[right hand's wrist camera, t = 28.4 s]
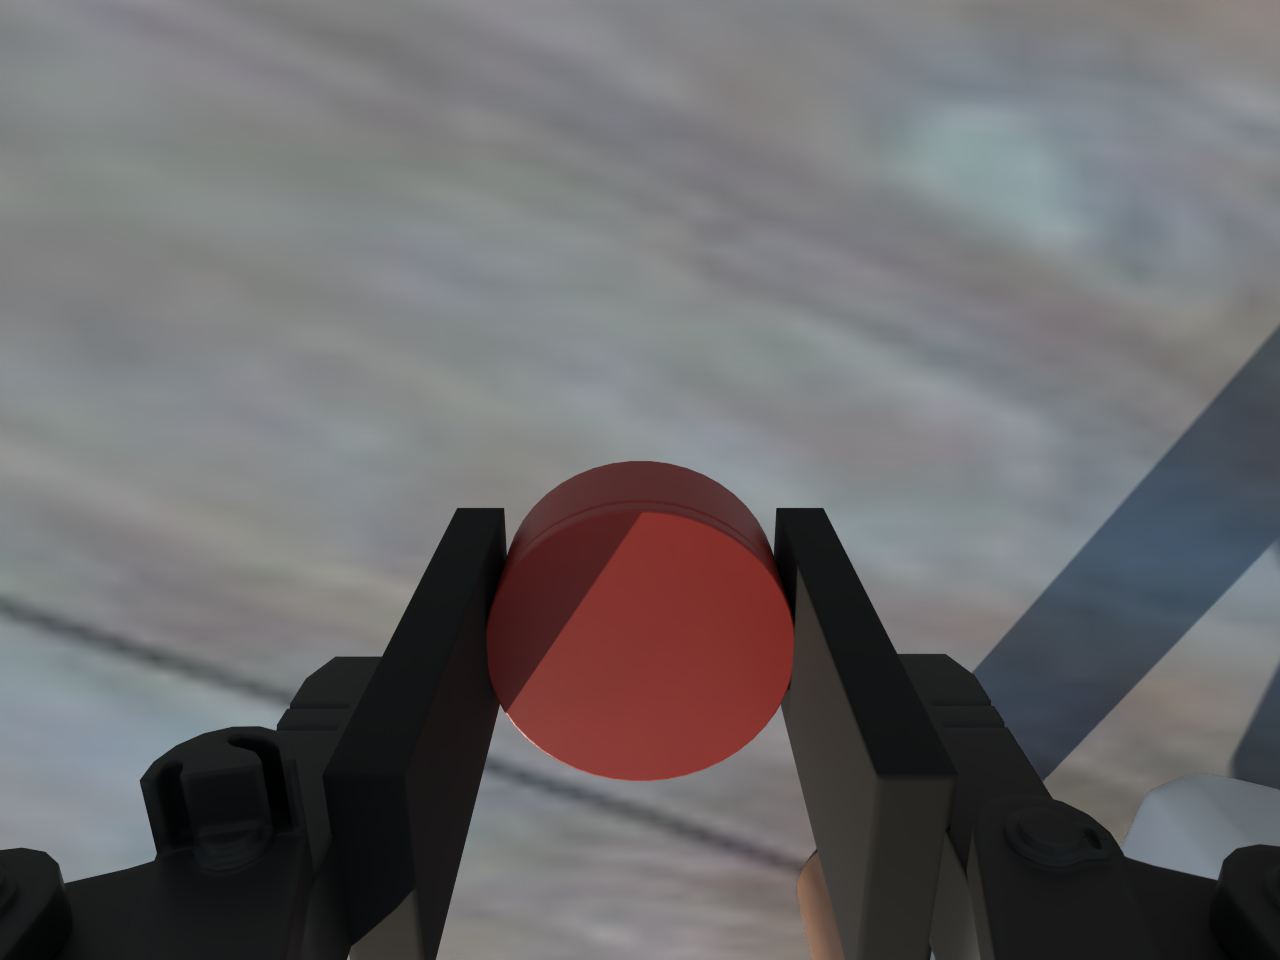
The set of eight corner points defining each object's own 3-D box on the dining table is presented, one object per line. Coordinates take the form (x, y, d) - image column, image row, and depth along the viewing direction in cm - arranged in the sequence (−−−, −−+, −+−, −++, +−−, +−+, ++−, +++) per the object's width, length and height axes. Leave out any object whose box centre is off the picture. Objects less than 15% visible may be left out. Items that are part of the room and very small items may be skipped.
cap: (606, 743, 16) (600, 827, 14) (449, 553, 14) (420, 616, 13) (825, 619, 15) (853, 691, 13) (680, 405, 14) (687, 448, 12)
